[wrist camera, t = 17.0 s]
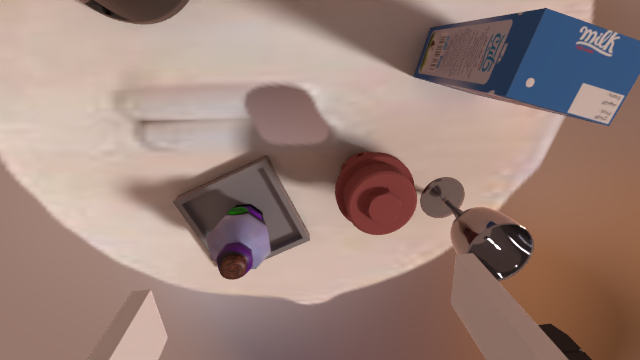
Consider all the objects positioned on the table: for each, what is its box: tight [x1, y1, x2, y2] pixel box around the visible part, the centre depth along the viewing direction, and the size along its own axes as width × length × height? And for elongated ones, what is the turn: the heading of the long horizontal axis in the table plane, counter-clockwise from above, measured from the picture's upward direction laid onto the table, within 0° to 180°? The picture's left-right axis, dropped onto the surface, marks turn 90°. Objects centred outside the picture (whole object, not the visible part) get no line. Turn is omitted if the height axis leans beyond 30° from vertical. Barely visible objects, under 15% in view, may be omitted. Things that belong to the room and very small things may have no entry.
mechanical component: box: [335, 152, 417, 235], centre depth 42 cm, size 12×10×10 cm
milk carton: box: [414, 8, 640, 126], centre depth 33 cm, size 10×6×20 cm, turn 75°
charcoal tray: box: [173, 156, 310, 260], centre depth 48 cm, size 15×15×2 cm
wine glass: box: [421, 177, 534, 281], centre depth 43 cm, size 8×8×15 cm
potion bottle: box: [206, 204, 271, 279], centre depth 43 cm, size 9×9×12 cm
